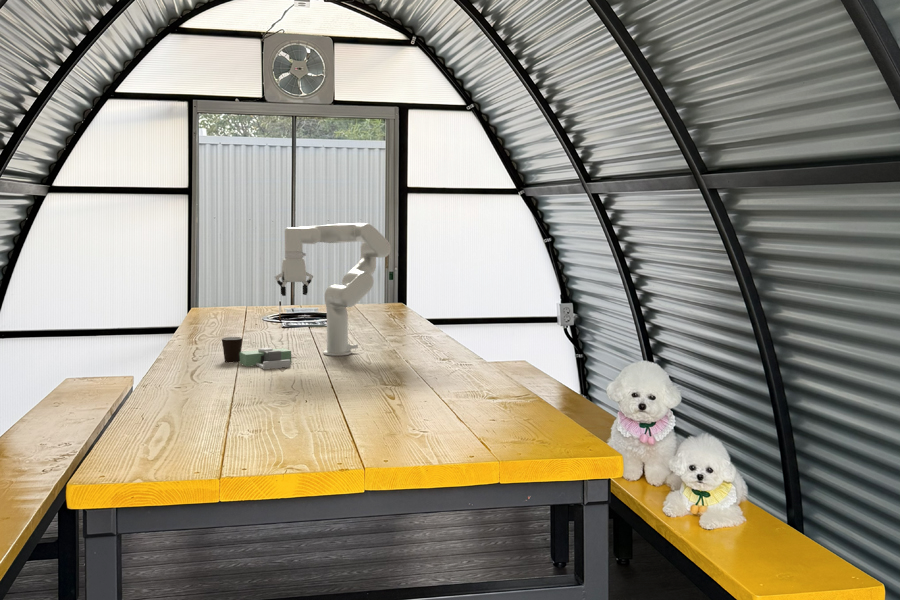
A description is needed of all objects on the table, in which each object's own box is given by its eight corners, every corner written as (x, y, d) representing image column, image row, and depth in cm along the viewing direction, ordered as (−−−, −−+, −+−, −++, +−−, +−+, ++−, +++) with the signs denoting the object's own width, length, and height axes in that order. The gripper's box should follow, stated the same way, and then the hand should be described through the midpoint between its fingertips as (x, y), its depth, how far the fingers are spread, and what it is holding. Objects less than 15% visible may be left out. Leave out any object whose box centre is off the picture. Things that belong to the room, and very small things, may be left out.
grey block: (275, 364, 342) (275, 348, 341) (281, 367, 336) (281, 350, 335) (264, 365, 339) (263, 349, 338) (269, 368, 333) (269, 351, 332)
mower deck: (284, 359, 353) (284, 345, 352) (300, 366, 338) (300, 351, 337) (239, 363, 342) (239, 349, 342) (253, 370, 327) (253, 355, 326)
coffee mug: (237, 363, 343) (236, 340, 342) (218, 362, 344) (218, 339, 343) (249, 358, 354) (248, 336, 353) (231, 357, 356) (230, 335, 355)
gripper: (309, 255, 356) (309, 293, 358) (271, 255, 347) (272, 295, 349) (315, 255, 350) (316, 295, 352) (277, 256, 341) (278, 296, 343)
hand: (294, 295), depth 350 cm, fingers open, 9 cm apart
